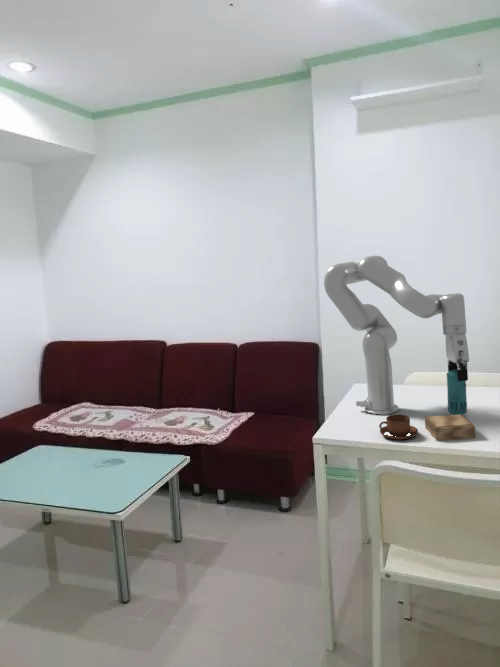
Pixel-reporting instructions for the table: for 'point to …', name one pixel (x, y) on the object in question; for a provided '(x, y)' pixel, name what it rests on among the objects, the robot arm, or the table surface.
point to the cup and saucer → (398, 427)
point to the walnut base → (450, 427)
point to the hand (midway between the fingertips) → (458, 377)
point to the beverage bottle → (456, 392)
